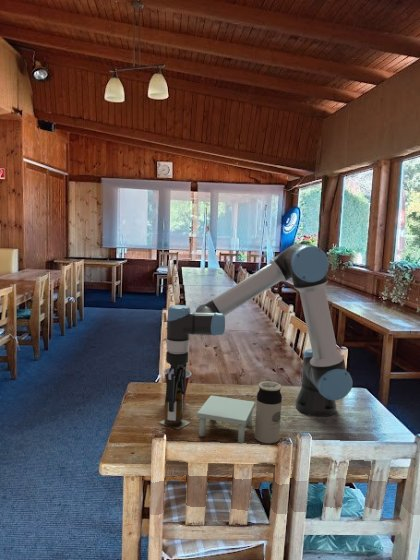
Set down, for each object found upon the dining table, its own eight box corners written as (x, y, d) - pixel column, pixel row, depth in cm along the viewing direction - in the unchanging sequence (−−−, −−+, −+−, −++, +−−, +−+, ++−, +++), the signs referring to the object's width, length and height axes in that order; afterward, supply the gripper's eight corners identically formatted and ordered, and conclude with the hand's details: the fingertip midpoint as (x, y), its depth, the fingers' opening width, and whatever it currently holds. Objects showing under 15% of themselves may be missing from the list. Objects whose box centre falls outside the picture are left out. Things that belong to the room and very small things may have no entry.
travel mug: (250, 434, 148) (253, 382, 146) (270, 431, 152) (273, 379, 149) (262, 445, 141) (266, 391, 139) (283, 441, 144) (287, 388, 142)
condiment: (172, 416, 160) (173, 383, 158) (190, 422, 155) (192, 389, 154) (158, 423, 154) (159, 389, 153) (177, 430, 149) (178, 395, 148)
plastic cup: (186, 408, 167) (187, 377, 166) (159, 404, 169) (160, 374, 168) (193, 397, 178) (194, 368, 176) (167, 394, 180) (168, 365, 179)
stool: (253, 423, 156) (255, 401, 155) (244, 444, 141) (245, 420, 140) (209, 416, 161) (210, 395, 160) (196, 436, 146) (197, 412, 145)
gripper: (176, 342, 162) (174, 403, 165) (156, 357, 144) (154, 425, 147) (196, 345, 160) (194, 407, 163) (178, 360, 142) (175, 429, 145)
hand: (175, 415), depth 155 cm, fingers closed on condiment, 6 cm apart
